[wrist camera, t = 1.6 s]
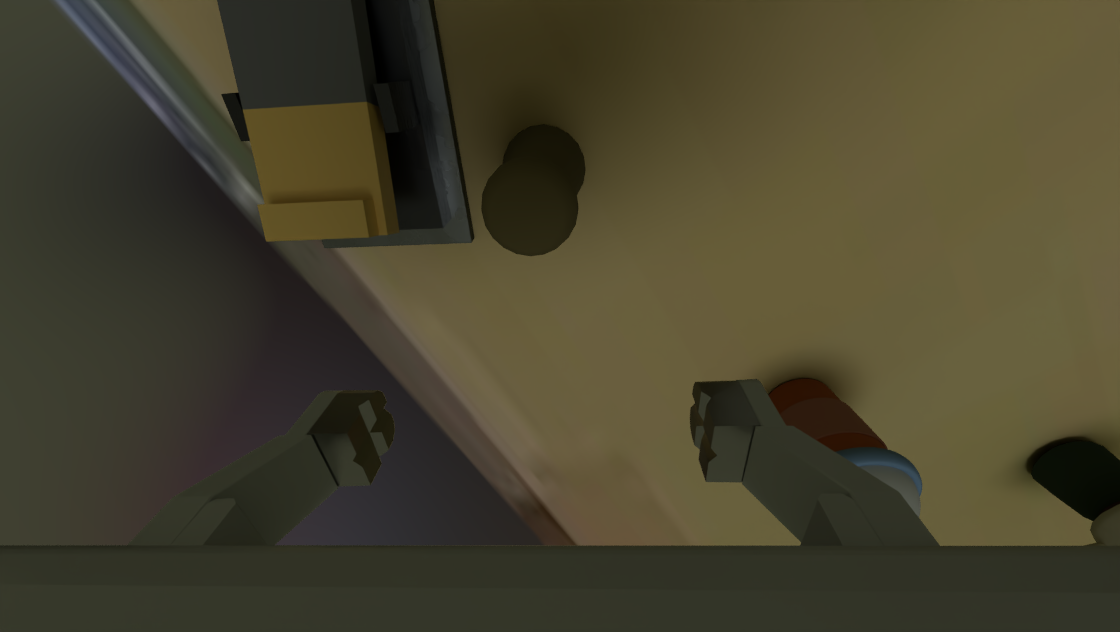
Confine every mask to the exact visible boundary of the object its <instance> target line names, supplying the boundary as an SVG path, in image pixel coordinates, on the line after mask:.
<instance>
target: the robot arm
mask: <svg viewBox="0 0 1120 632" xmlns="http://www.w3.org/2000/svg"><path fill="white" fill-rule="evenodd" d="M692 395H693V398H694V401H695V404H694V405H693V406H692V407H691V410H690V429H691V434H692V439H693V442H694V445H695V446H696V447H698V448H699V449H700V453H699V462H700V465H701V468H702V471H703V474H704V478H705V481H706V482H743V483H742V484H743V485H744V486H745V487H746V488H747V489H748V490H749V491H750V492H751V493H752V494H753V495H754V496H755V497H756V498H757V499H758V500H759V501H760V502H761V503H762V504H763V505H764V506H765V507H766V508H767V509H768V510H769V511H770V512H771V513H772V514H773V515H774V516H775V517H776V518H777V519H778V520H779V521H780V522H781V523H782V524H783V525H784V526H785V527H786V528H787V529H788V530H789V531H790V532H791V533H792V534H793V535H794V536H795V537H796V538H797V539H798V540H799V541H800V542H801V545H800V546H460V545H459V546H458V545H457V546H455V545H454V546H452V545H449V546H446V545H444V546H442V545H441V546H438V545H436V546H435V545H433V546H431V545H428V546H427V545H426V546H425V545H419V546H418V545H416V546H414V545H411V546H410V545H399V546H398V545H397V546H395V545H390V546H388V545H367V546H366V545H359V546H358V545H353V546H352V545H349V546H348V545H343V546H342V545H336V546H335V545H323V546H322V545H308V546H307V545H306V546H305V545H297V546H296V545H283V546H282V545H275V544H276V543H277V542H279V541H280V540H281V539H282V538H283V537H284V536H285V535H286V534H288V533H289V532H290V531H291V530H292V529H293V528H294V527H295V526H296V525H298V524H299V523H300V522H301V521H302V520H303V519H304V518H305V517H307V516H308V515H309V514H310V513H311V512H312V511H313V510H314V509H315V508H317V507H318V506H319V505H320V504H321V503H322V502H323V501H324V500H326V498H328V497H329V496H330V495H331V494H332V493H333V492H335V491H336V490H337V489H338V486H362V485H371V483H372V481H373V479H374V477H375V476H376V473H377V471H378V469H379V468H380V466H381V461H380V456H381V455H382V454H384V453H385V452H386V451H388V450H389V448H390V446H391V444H392V441H393V437H394V432H395V428H394V420H393V418H392V415H391V414H390V413H389V412H388V411H386V410H385V409H384V406H385V404H386V403H387V401H386V399H385V396H384V394H383V392H381V391H378V390H356V391H354V390H353V391H351V390H349V391H348V390H345V391H344V390H343V391H324V392H322V393H320V394H319V395H318V396H317V397H316V398H315V400H314V401H313V402H312V404H311V405H310V406H309V407H308V408H307V409H306V411H305V412H304V413H303V414H302V416H301V417H300V418H299V419H298V420H297V421H296V423H295V424H294V425H293V426H292V428H291V429H290V430H289V431H288V432H287V434H286V435H284V436H278V437H276V438H274V439H273V440H271V441H269V442H268V443H266V444H264V445H262V446H261V447H259V448H257V449H255V450H254V451H252V452H250V453H249V454H247V455H245V456H243V457H242V458H240V459H238V460H237V461H235V462H233V463H231V464H230V465H228V466H226V467H224V468H223V469H221V470H219V471H218V472H216V473H214V474H212V475H211V476H209V477H207V478H205V479H204V480H202V481H200V482H199V483H197V484H195V485H193V486H192V487H190V488H188V489H186V490H185V491H183V492H181V493H180V494H178V495H176V496H174V497H173V498H172V499H171V500H170V501H169V502H168V503H167V504H166V505H165V506H164V507H163V508H162V509H161V510H160V512H159V513H158V514H157V515H156V516H155V517H154V518H153V519H152V520H151V521H150V522H149V523H148V524H147V525H146V526H145V527H144V528H143V529H142V530H141V531H140V532H139V533H138V534H137V535H136V537H135V538H134V539H133V540H132V541H131V542H130V543H129V544H128V545H51V546H50V545H38V546H37V545H5V546H4V545H0V632H1120V546H940V545H939V544H938V542H937V541H936V540H935V539H934V537H933V536H932V535H931V533H930V532H929V531H928V529H927V528H926V527H925V525H924V524H923V523H922V521H921V520H920V519H919V517H918V516H917V515H916V513H915V512H914V511H913V509H912V508H911V507H910V506H909V504H908V503H907V502H906V500H905V499H904V498H903V496H902V495H901V494H900V492H899V491H897V490H895V489H894V488H892V487H891V486H889V485H887V484H886V483H884V482H883V481H881V480H879V479H878V478H876V477H874V476H873V475H871V474H870V473H868V472H866V471H865V470H863V469H862V468H860V467H858V466H857V465H855V464H854V463H852V462H850V461H849V460H847V459H846V458H844V457H842V456H841V455H839V454H838V453H836V452H834V451H833V450H831V449H829V448H828V447H826V446H825V445H823V444H821V443H820V442H818V441H817V440H815V439H813V438H812V437H810V436H809V435H807V434H805V433H804V432H802V431H801V430H799V429H797V428H796V427H794V426H786V424H785V422H784V421H783V419H782V417H781V416H780V414H779V412H778V411H777V409H776V407H775V406H774V404H773V402H772V401H771V399H770V397H769V396H768V394H767V392H766V391H765V389H764V387H763V385H762V384H761V382H760V381H759V380H757V379H747V380H736V381H706V382H695V383H694V386H693V392H692Z"/></svg>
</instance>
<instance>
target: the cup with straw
mask: <svg viewBox="0 0 1120 632" xmlns="http://www.w3.org/2000/svg"><path fill="white" fill-rule="evenodd" d="M768 396H769V397H770V399H771V401H772V402H773V404H774V406H775V407H776V409H777V411H778V412H779V414H780V416H781V417H782V419H783V421H784V422H785V424H786V426H794V427H796V428H797V429H799V430H801V431H802V432H804V433H805V434H807V435H809V436H810V437H812V438H813V439H815V440H817V441H818V442H820V443H821V444H823V445H825V446H826V447H828V448H829V449H831V450H833V451H834V452H836V453H838V454H839V455H841V456H842V457H844V458H846V459H847V460H849V461H850V462H852V463H854V464H855V465H857V466H858V467H860V468H862V469H863V470H865V471H866V472H868V473H870V474H871V475H873V476H874V477H876V478H878V479H879V480H881V481H883V482H884V483H886V484H887V485H889V486H891V487H892V488H894V489H895V490H897V491H899V492H900V494H901V495H902V496H903V498H904V499H905V500H906V502H907V503H908V504H909V506H910V507H911V508H912V509H913V511H914V512H915V513H916V515H917V516H918V517H919V515H920V495H921V491H922V481H921V477H920V475H919V473H918V471H917V469H916V468H915V466H914V465H913V464H912V463H911V462H910V461H909V460H908V459H906V458H905V457H904V456H902V455H900V454H898V453H896V452H894V451H891V450H888V449H887V447H886V445H885V443H884V442H883V441H882V440H881V439H880V438H879V437H878V436H877V435H876V434H875V433H874V432H873V431H872V429H871V428H870V427H869V426H868V425H867V424H866V423H865V422H864V421H863V420H862V419H861V418H860V417H859V416H858V415H857V414H856V413H855V412H854V411H853V410H852V409H851V408H850V407H849V406H848V405H847V404H846V403H844V402H842V401H841V400H840V399H839V398H838V397H837V396H836V395H835V394H834V393H833V392H832V391H831V390H830V389H829V388H828V387H827V386H826V385H825V384H823V383H822V382H820V381H817V380H814V379H796V380H792V381H789V382H786V383H784V384H782V385H780V386H778V387H777V388H775V389H774V390H773V391H772V392H771V393H770V394H769V395H768Z"/></svg>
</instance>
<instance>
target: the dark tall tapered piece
mask: <svg viewBox="0 0 1120 632" xmlns="http://www.w3.org/2000/svg"><path fill="white" fill-rule="evenodd" d="M584 175H585V162H584V156H583V154H582V152H581V149H580V147H579V145H578V143H577V142H576V141H575V140H574V139H573V138H572V137H571V136H570V135H569V134H568V133H566V132H565V131H563V130H561V129H559V128H558V127H554V126H549V125H537V126H531V127H529V128H527V129H525V130H523V131H521V132H520V133H518V134H517V135H516V136H515V137H514V139H513V140H512V141H511V142H510V143H509V145H508V148H507V150H506V152H505V155H504V159H503V165H501V166H500V167H499V168H498V169H497V170H496V171H495V172H494V173H493V175H492V176H491V177H490V178H489V179H488V181H487V184H486V186H485V188H484V191H483V193H482V214H483V218H484V222H485V226H486V227H487V229H488V231H489V232H490V234H491V236H492V237H493V238H494V239H495V240H496V241H497V242H498V243H499V244H500V245H501V246H502V247H504V248H506V249H508V250H510V251H512V252H514V253H516V254H521V255H527V256H535V255H543V254H546V253H548V252H550V251H552V250H554V249H556V248H558V247H559V246H560V245H561V244H562V243H563V242H564V241H565V240H566V239H567V238H568V237H569V236H570V234H571V232H572V230H573V228H574V227H575V225H576V220H577V214H578V201H577V194H578V192H579V190H580V188H581V186H582V184H583V181H584Z"/></svg>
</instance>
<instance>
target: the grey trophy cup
mask: <svg viewBox="0 0 1120 632" xmlns="http://www.w3.org/2000/svg"><path fill="white" fill-rule="evenodd" d="M1031 475H1032V477H1033V479H1034V480H1036V481H1037V482H1038V483H1039V484H1041V485H1042V486H1043V487H1044V488H1046V489H1047V490H1048V491H1049V492H1051V493H1052V494H1053V495H1054V496H1056V497H1057V498H1059V499H1060V500H1061V501H1063V502H1064V503H1065V504H1067V505H1068V506H1070V507H1071V508H1072V509H1074V510H1075V511H1076V512H1078V513H1079V514H1080V515H1082V516H1083V517H1085V518H1087V519H1090V520H1092V521H1093V522H1092V525H1091V529H1090V531H1091V533H1092V535H1093V537H1094V539H1095V541H1096V542H1097V543H1093V544H1089V545H1084V546H1120V460H1119V459H1117V458H1116V457H1115V456H1114V455H1113V454H1112V453H1111V452H1109V451H1108V450H1107V449H1106V448H1105V447H1104V446H1101V445H1099V444H1096V443H1093V442H1070V443H1067V444H1063V445H1060V446H1056V447H1055V448H1053V449H1051V450H1050V451H1048V452H1047V453H1045V454H1044V455H1042V456H1041V458H1040V459H1039V460H1038V461H1037V462H1036V464H1035V465H1034V466H1033V470H1032V473H1031Z"/></svg>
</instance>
